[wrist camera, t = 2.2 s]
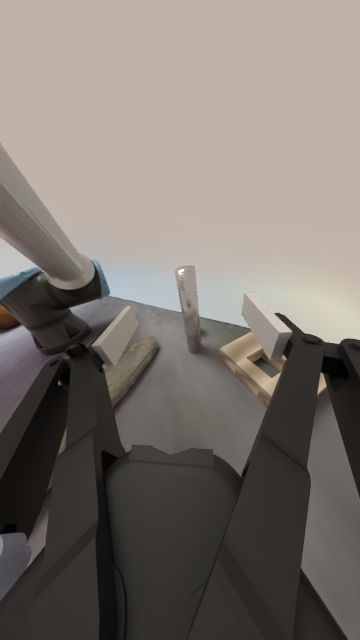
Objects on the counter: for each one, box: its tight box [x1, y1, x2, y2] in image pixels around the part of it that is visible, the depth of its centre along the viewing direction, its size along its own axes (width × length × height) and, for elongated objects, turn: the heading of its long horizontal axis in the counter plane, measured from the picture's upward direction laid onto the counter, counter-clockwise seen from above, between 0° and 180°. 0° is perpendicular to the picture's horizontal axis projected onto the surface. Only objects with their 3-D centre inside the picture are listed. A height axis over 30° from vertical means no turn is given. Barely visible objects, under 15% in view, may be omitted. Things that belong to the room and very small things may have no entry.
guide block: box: [220, 332, 327, 408], centre depth 24 cm, size 14×10×4 cm
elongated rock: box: [46, 337, 159, 493], centre depth 25 cm, size 35×5×10 cm
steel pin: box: [175, 266, 202, 353], centre depth 28 cm, size 4×4×20 cm
